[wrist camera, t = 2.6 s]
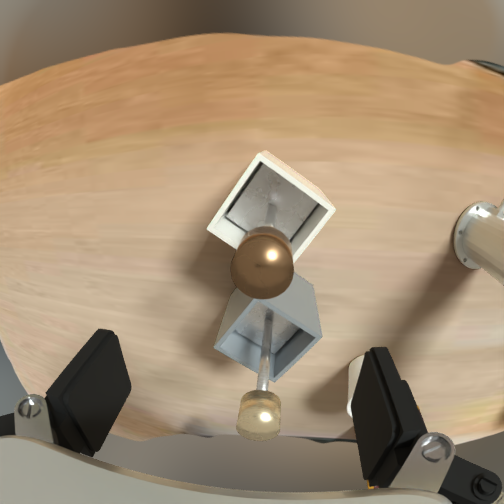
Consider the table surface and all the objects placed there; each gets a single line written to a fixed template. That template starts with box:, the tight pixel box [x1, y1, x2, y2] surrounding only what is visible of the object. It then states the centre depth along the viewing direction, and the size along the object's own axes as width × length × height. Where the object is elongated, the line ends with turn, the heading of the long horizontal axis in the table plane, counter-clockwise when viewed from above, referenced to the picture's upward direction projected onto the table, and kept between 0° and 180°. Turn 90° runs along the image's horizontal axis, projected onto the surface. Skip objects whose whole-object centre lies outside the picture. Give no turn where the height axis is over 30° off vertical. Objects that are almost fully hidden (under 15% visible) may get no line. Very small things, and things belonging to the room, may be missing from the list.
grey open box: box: [213, 272, 322, 383], centre depth 45 cm, size 10×10×15 cm
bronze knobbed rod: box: [226, 164, 318, 299], centre depth 29 cm, size 8×8×19 cm
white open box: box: [207, 150, 336, 263], centre depth 40 cm, size 10×10×15 cm
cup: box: [346, 355, 364, 417], centre depth 51 cm, size 10×10×11 cm
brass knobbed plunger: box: [235, 301, 300, 441], centre depth 34 cm, size 8×8×19 cm
